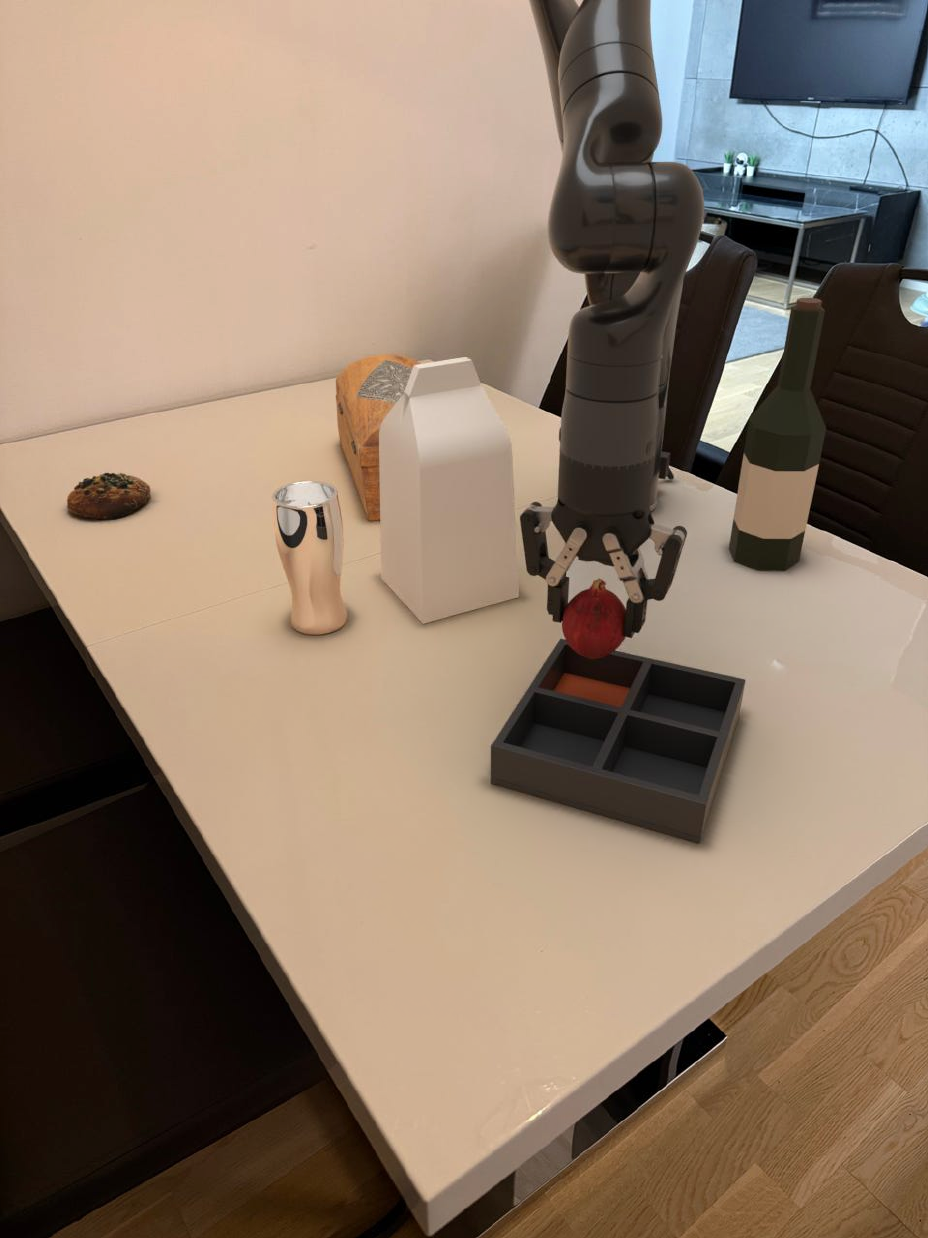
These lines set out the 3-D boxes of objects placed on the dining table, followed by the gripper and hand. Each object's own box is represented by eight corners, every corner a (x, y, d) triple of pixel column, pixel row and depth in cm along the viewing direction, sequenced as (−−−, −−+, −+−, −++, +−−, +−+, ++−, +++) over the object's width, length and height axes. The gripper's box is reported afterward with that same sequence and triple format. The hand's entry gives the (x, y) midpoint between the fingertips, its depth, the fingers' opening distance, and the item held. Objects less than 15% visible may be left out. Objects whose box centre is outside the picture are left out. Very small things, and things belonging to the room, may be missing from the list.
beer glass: (289, 605, 103) (273, 481, 95) (352, 602, 103) (340, 478, 95) (284, 639, 97) (266, 509, 89) (350, 635, 97) (338, 506, 89)
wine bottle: (803, 547, 113) (855, 295, 97) (794, 577, 107) (847, 312, 91) (735, 534, 116) (774, 288, 100) (721, 563, 110) (761, 305, 94)
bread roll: (98, 527, 120) (88, 490, 118) (53, 516, 126) (43, 481, 124) (169, 501, 127) (160, 466, 125) (123, 493, 134) (115, 459, 132)
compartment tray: (558, 672, 91) (560, 637, 89) (739, 715, 85) (745, 679, 82) (490, 783, 77) (490, 745, 75) (699, 843, 71) (706, 804, 69)
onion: (622, 680, 80) (630, 601, 76) (556, 673, 81) (560, 595, 77) (626, 644, 85) (633, 568, 80) (563, 637, 86) (568, 562, 81)
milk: (423, 623, 99) (412, 387, 85) (381, 578, 108) (365, 357, 94) (518, 596, 104) (523, 368, 90) (471, 555, 112) (469, 341, 99)
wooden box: (483, 510, 123) (483, 410, 116) (361, 523, 120) (353, 421, 113) (440, 433, 148) (438, 347, 141) (338, 442, 145) (331, 355, 138)
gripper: (709, 441, 72) (684, 621, 81) (538, 417, 77) (532, 590, 86) (688, 475, 67) (664, 666, 75) (505, 447, 72) (502, 629, 81)
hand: (594, 624), depth 81 cm, fingers closed on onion, 6 cm apart
